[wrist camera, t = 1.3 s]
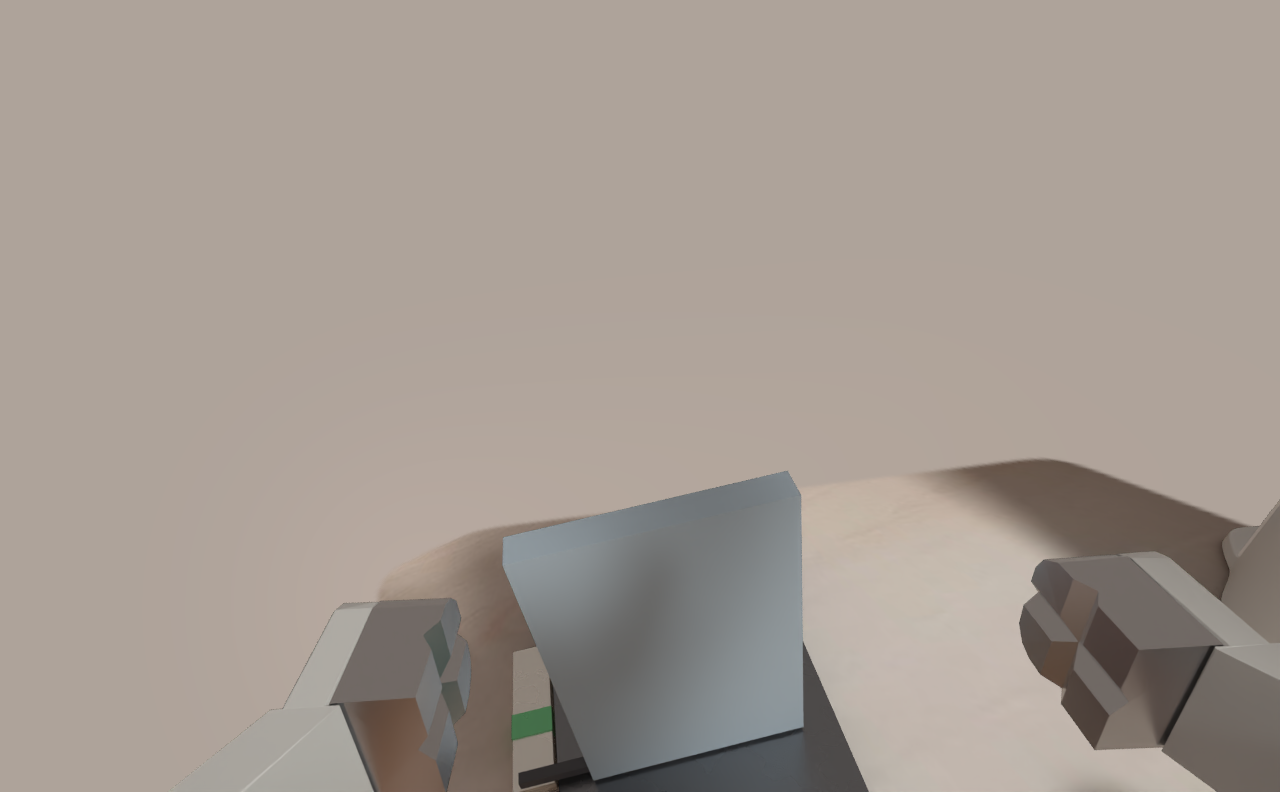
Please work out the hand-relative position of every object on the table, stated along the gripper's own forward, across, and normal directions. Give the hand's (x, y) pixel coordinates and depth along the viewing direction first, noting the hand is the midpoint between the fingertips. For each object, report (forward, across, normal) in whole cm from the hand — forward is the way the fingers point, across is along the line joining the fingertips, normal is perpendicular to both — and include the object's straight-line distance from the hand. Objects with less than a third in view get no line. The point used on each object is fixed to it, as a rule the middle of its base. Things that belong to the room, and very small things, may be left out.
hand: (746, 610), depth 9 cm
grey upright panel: (+16, +1, +27) cm, 31 cm away
